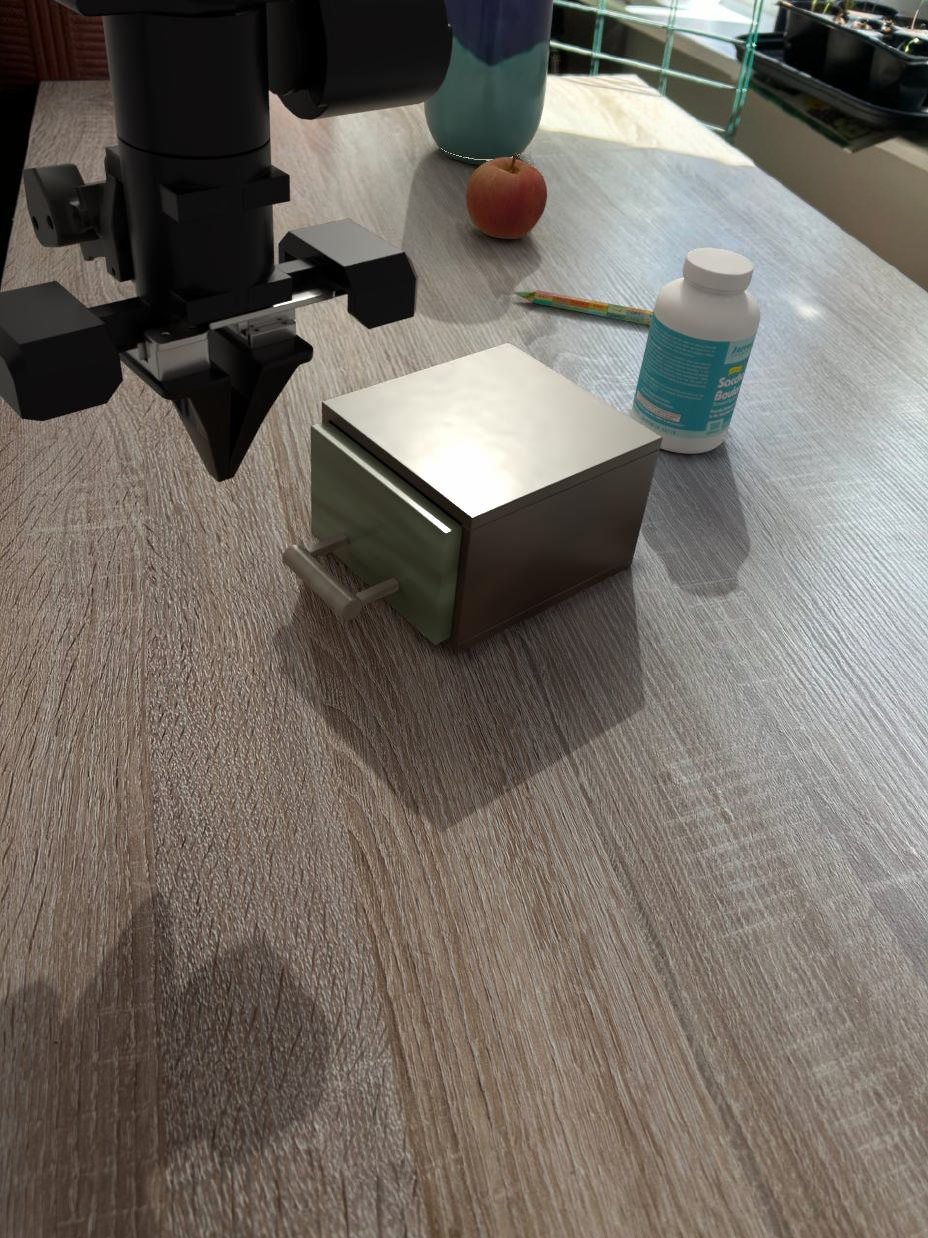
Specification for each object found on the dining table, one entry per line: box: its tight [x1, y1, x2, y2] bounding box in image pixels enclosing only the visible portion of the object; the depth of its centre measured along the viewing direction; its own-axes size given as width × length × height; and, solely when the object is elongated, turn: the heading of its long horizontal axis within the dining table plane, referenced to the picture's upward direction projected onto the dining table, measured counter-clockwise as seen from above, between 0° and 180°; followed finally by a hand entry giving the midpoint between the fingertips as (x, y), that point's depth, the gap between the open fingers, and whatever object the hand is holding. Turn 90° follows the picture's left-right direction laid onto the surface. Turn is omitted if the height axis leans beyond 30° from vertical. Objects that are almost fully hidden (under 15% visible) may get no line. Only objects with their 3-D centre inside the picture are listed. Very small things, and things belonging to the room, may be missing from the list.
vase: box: [423, 0, 554, 166], centre depth 116 cm, size 14×14×31 cm
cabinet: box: [321, 342, 663, 655], centre depth 65 cm, size 15×14×10 cm
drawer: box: [281, 421, 462, 646], centre depth 63 cm, size 18×12×8 cm
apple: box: [465, 152, 548, 240], centre depth 105 cm, size 8×8×8 cm
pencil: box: [512, 289, 653, 326], centre depth 95 cm, size 1×1×18 cm
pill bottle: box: [630, 247, 761, 455], centre depth 77 cm, size 8×7×14 cm
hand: (220, 476), depth 51 cm, fingers closed
